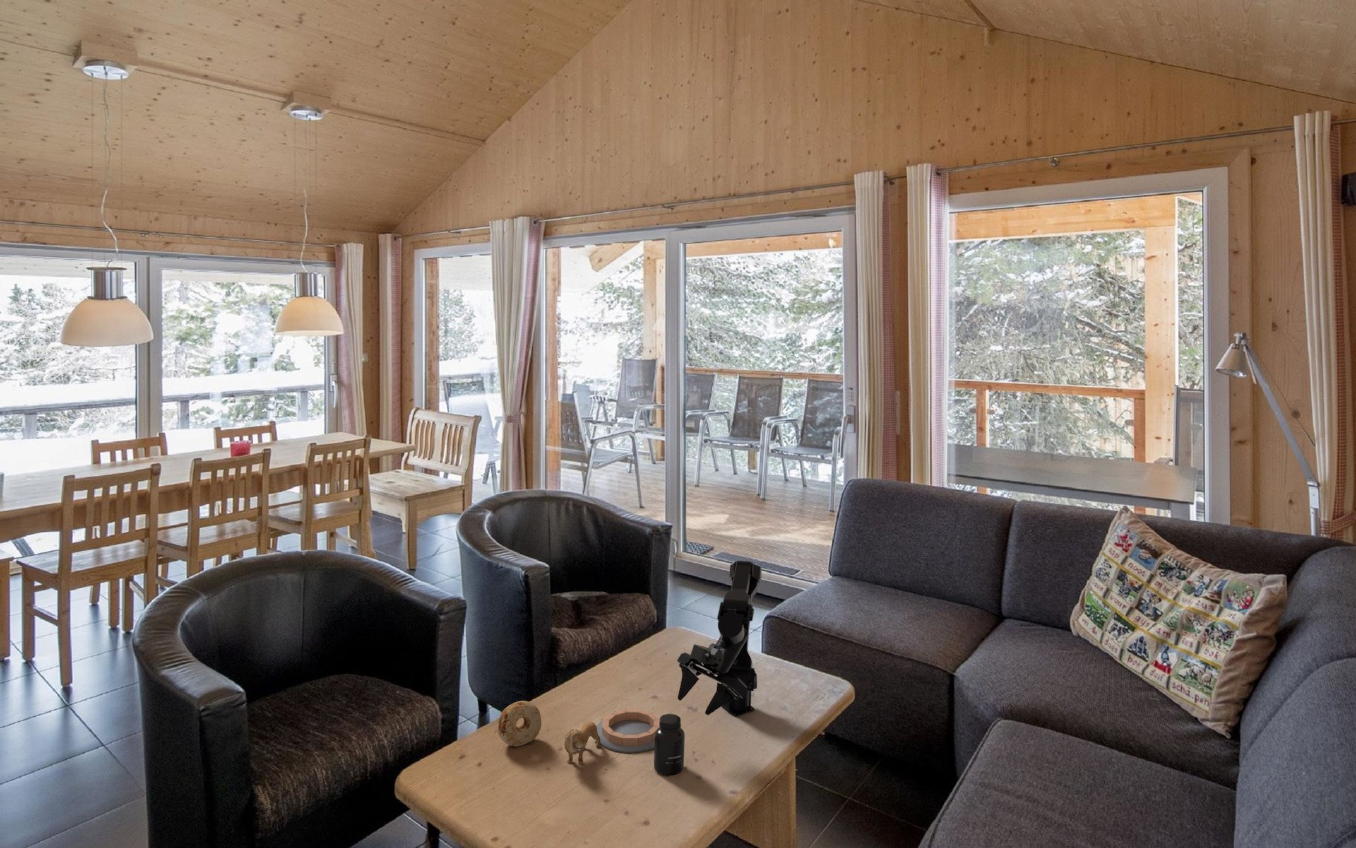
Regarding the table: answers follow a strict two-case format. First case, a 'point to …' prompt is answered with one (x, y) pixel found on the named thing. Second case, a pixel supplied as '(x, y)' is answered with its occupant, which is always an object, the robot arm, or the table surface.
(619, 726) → the ring tray
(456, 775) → the table surface
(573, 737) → the lion figurine
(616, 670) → the table surface
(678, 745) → the supplement bottle
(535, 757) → the table surface
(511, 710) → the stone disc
